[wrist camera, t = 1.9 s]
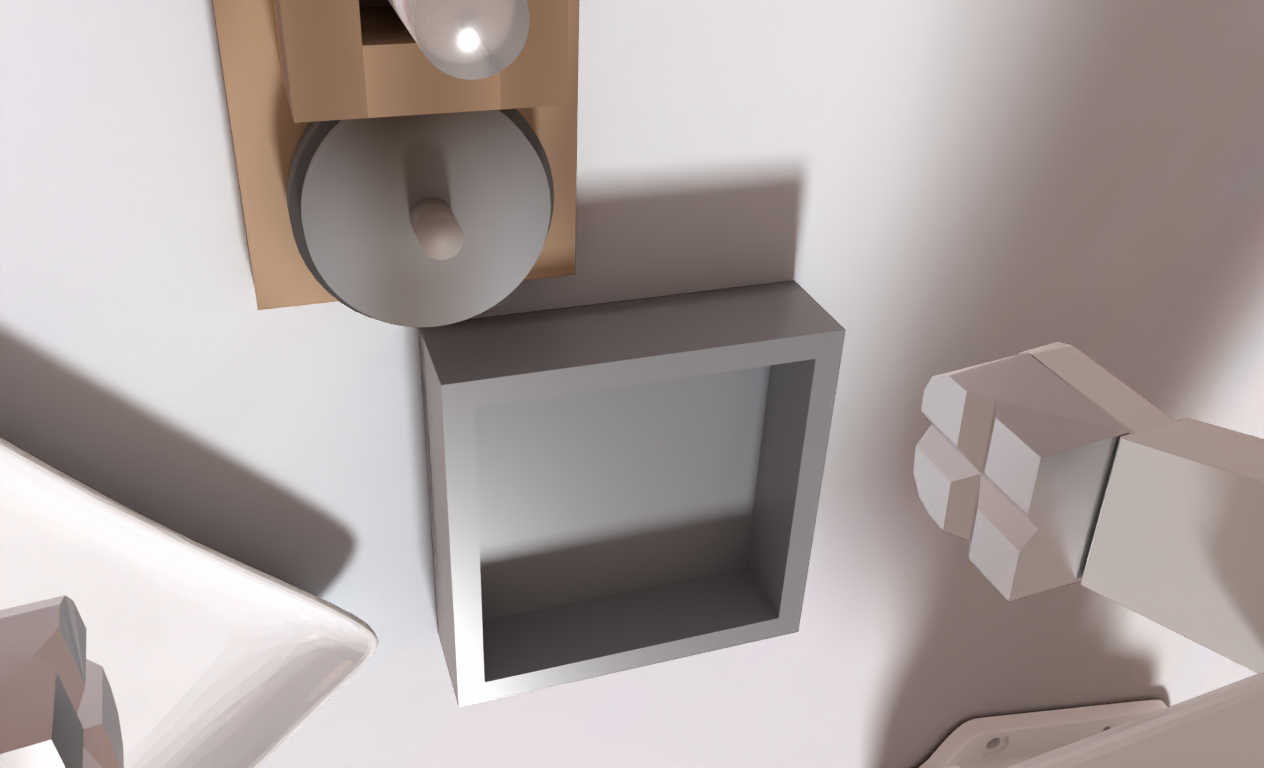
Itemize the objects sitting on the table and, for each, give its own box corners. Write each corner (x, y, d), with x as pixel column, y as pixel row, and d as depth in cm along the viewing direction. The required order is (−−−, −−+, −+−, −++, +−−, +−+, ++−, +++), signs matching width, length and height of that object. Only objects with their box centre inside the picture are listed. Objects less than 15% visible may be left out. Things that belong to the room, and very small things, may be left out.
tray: (794, 280, 42) (845, 330, 39) (757, 569, 49) (798, 631, 46) (418, 325, 38) (440, 385, 35) (438, 634, 45) (458, 707, 42)
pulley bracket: (566, -208, 31) (631, -189, 27) (562, 263, 39) (612, 339, 34) (180, -216, 28) (182, -197, 24) (256, 297, 36) (268, 384, 31)
